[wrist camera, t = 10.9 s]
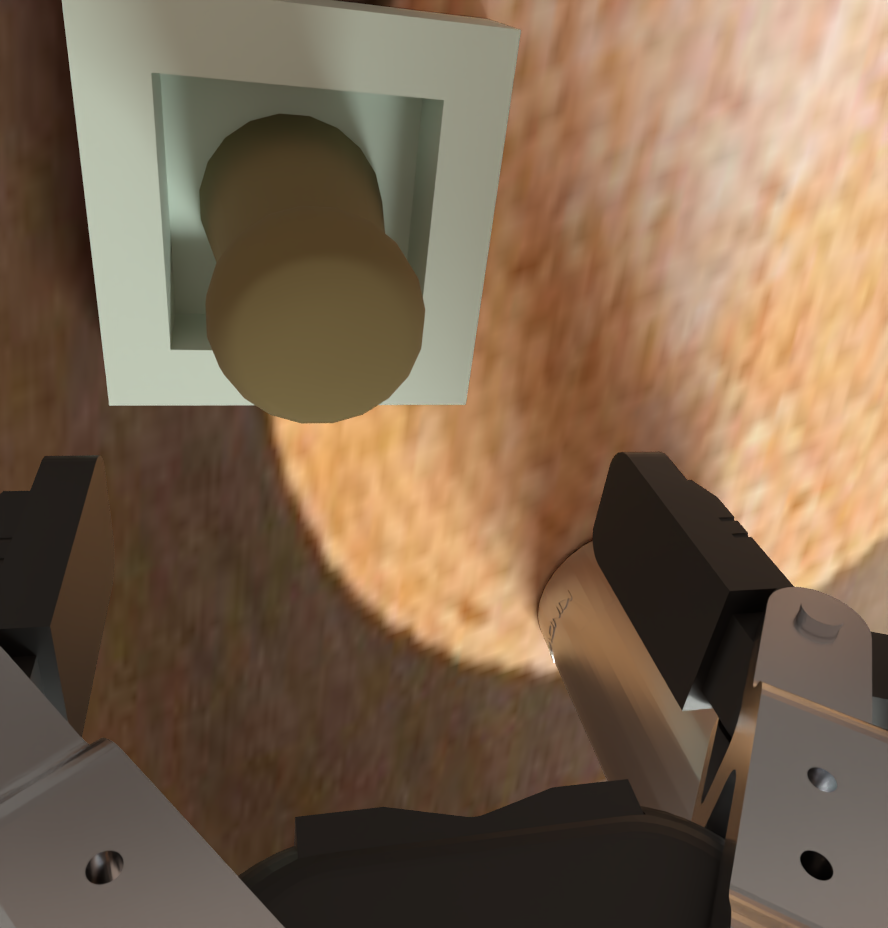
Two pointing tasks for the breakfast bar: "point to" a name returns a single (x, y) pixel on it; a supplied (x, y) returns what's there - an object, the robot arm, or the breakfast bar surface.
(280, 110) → the socket stand
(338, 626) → the breakfast bar surface
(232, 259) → the cork
